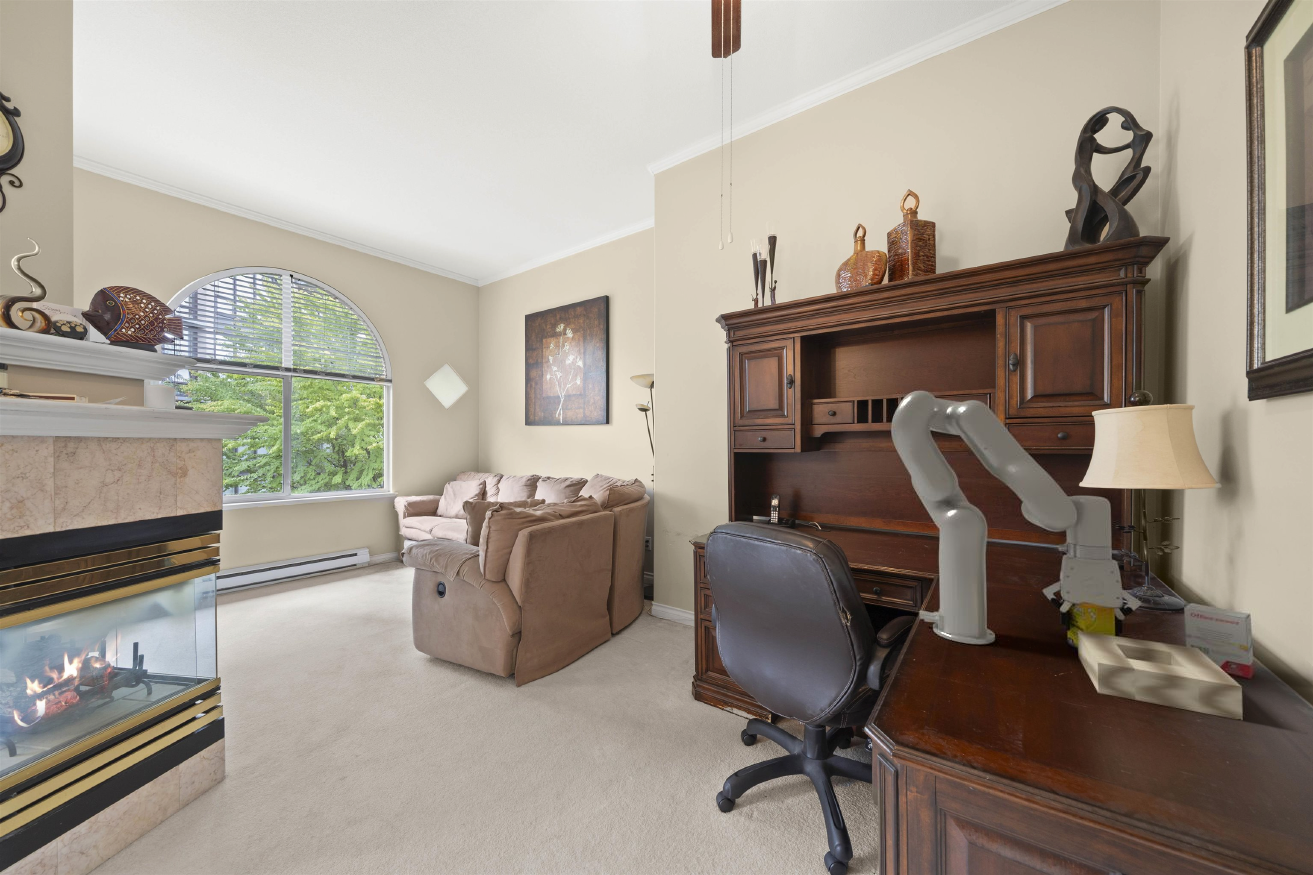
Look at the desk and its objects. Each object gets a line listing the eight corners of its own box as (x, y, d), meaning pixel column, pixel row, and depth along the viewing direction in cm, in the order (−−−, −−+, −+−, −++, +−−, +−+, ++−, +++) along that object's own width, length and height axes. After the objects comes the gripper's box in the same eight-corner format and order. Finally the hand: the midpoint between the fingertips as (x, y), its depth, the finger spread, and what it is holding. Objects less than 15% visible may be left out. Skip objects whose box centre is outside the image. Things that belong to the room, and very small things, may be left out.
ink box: (1254, 673, 98) (1253, 613, 98) (1250, 680, 95) (1248, 618, 96) (1190, 657, 106) (1189, 601, 106) (1185, 663, 103) (1183, 606, 103)
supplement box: (1066, 643, 113) (1065, 595, 114) (1096, 645, 112) (1095, 596, 113) (1084, 654, 108) (1083, 603, 108) (1116, 656, 107) (1115, 604, 107)
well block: (1098, 692, 91) (1097, 662, 91) (1078, 656, 106) (1078, 630, 107) (1242, 720, 82) (1241, 686, 82) (1198, 676, 97) (1197, 648, 97)
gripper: (1041, 551, 112) (1043, 630, 111) (1147, 559, 103) (1149, 646, 102) (1037, 545, 118) (1038, 620, 118) (1136, 553, 109) (1138, 634, 109)
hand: (1090, 631), depth 110 cm, fingers closed on supplement box, 7 cm apart
